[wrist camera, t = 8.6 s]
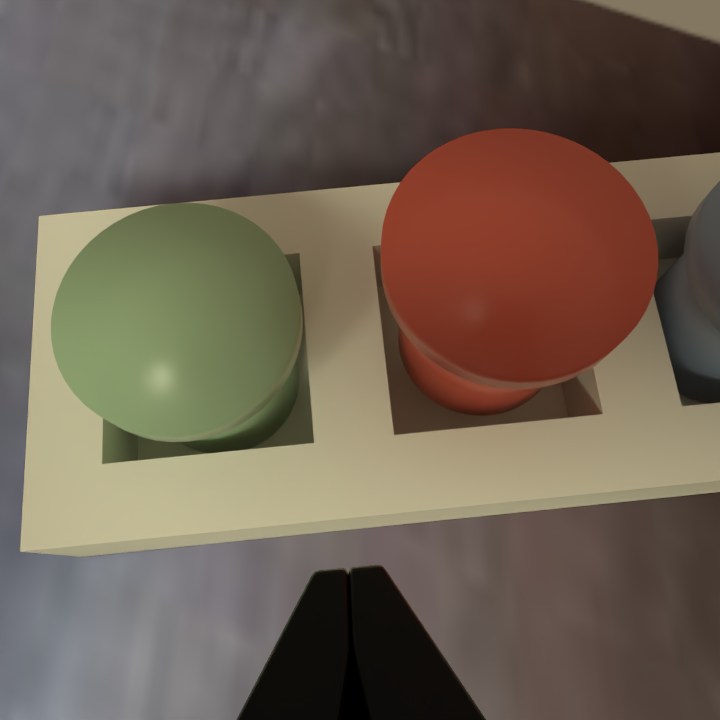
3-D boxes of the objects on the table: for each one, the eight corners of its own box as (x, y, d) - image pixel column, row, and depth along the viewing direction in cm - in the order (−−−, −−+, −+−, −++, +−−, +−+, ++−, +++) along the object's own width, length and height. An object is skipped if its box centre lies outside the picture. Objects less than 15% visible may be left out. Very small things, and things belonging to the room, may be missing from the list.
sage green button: (324, 463, 21) (307, 419, 15) (133, 482, 21) (44, 446, 15) (310, 288, 23) (290, 192, 17) (134, 305, 23) (56, 214, 17)
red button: (596, 425, 20) (688, 361, 14) (389, 445, 19) (397, 389, 14) (557, 240, 21) (624, 117, 16) (368, 258, 21) (367, 140, 16)
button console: (884, 475, 22) (991, 453, 18) (82, 556, 22) (20, 551, 18) (793, 205, 25) (868, 138, 21) (90, 272, 25) (39, 216, 21)
